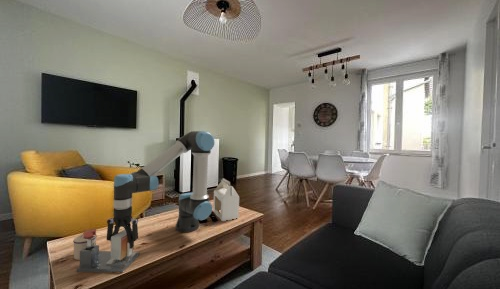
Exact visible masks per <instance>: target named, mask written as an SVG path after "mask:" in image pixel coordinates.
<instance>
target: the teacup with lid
mask: <svg viewBox="0 0 500 289" xmlns="http://www.w3.org/2000/svg"><path fill="white" fill-rule="evenodd" d="M92 245H97V235H96V236H95V237H93V238H92ZM86 246H87V239H84V238H83V233H81V235H77V236H76V237H75V238H74V239H73V259H74V260H76V261H77V260H78V261H80V251H81V250H82V249H84V248H85V247H86Z"/></svg>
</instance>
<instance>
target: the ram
mask: <svg viewBox="0 0 500 289" xmlns="http://www.w3.org/2000/svg"><path fill="white" fill-rule="evenodd" d="M82 234H83V238H84V239H87V250H91V249H92V238H93V237H95V236H97V229H95V228H91V229H89V228H88V229H86V230H84V231H83V232H82Z"/></svg>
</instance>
